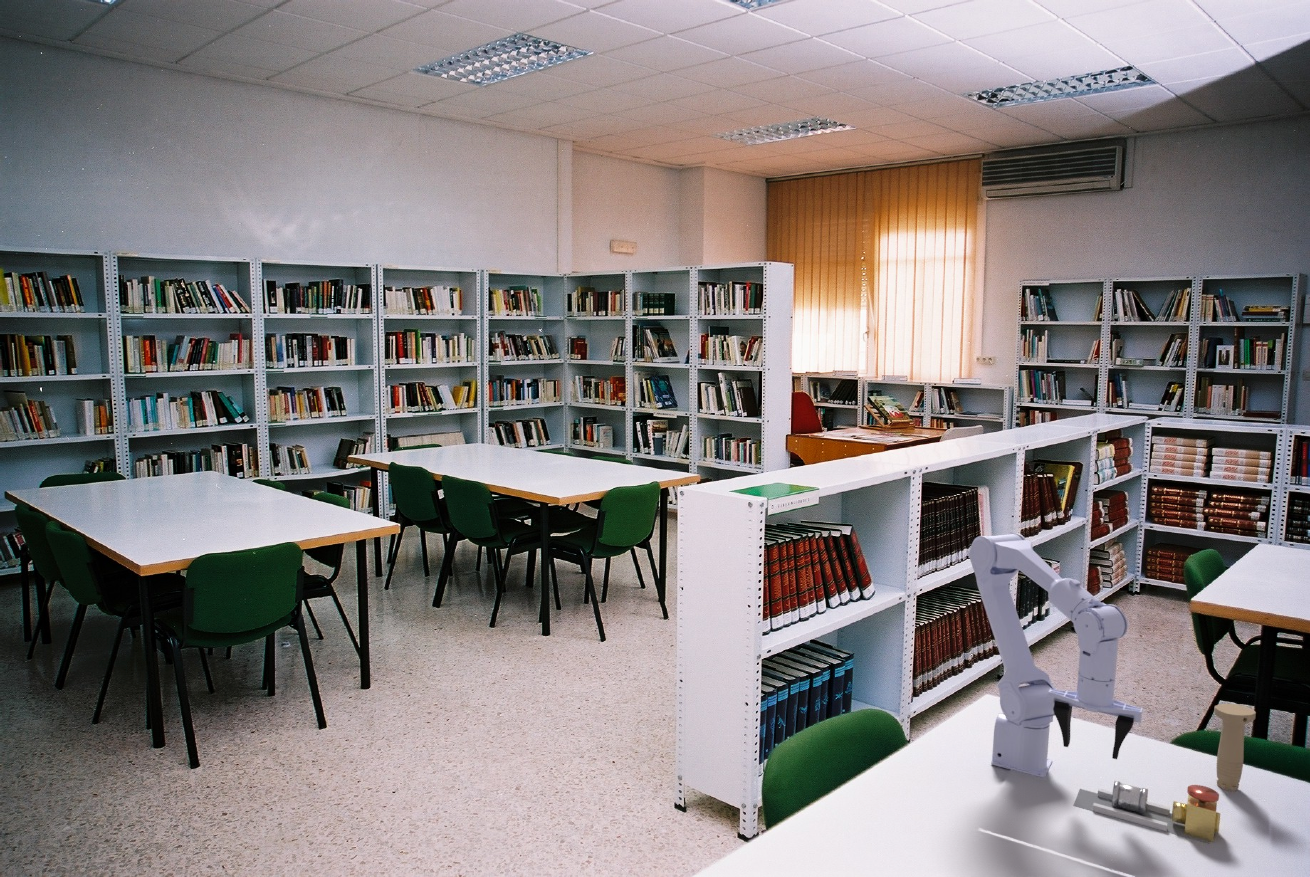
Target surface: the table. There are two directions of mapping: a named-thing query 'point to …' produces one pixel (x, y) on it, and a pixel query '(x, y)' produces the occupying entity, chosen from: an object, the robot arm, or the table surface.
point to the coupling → (1129, 797)
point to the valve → (1198, 812)
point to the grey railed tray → (1132, 812)
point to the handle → (1231, 743)
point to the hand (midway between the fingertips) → (1090, 750)
